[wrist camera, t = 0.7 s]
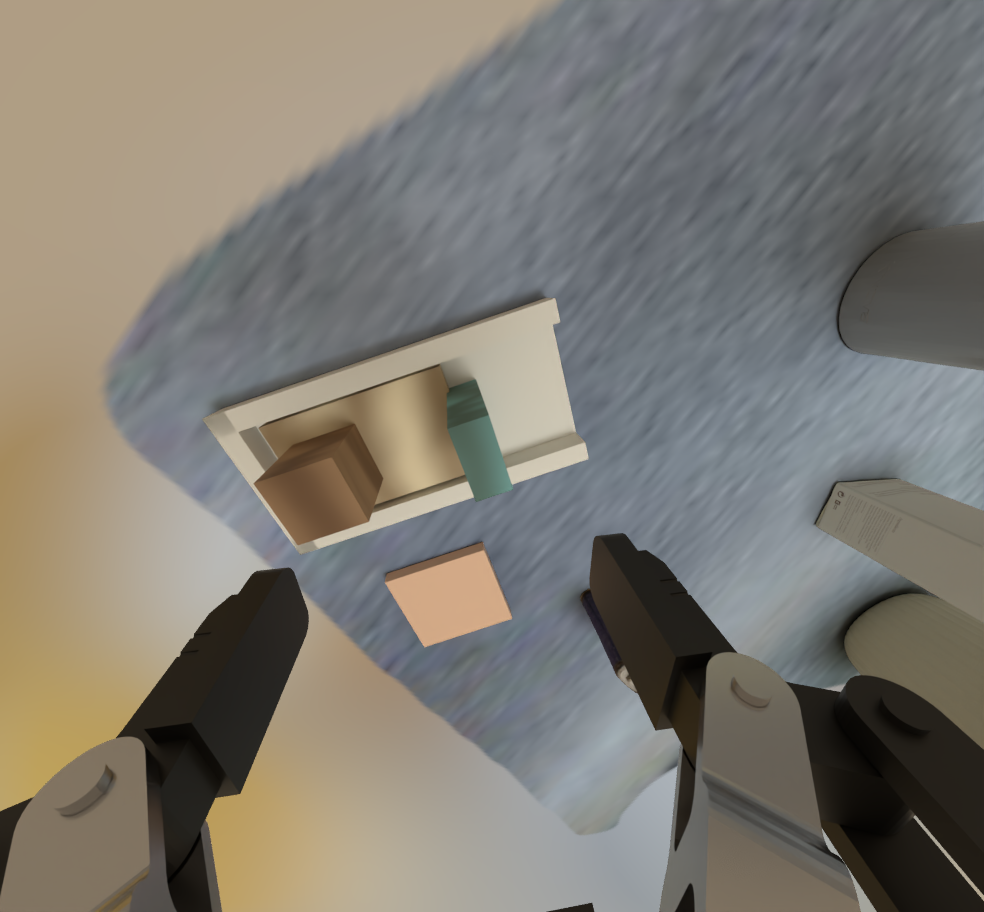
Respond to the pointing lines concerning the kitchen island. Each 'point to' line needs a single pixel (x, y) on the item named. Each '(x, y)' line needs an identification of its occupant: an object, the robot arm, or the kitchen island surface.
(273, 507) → the block
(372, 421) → the l-shaped stand
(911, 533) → the skincare box
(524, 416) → the cream tray
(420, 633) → the plate
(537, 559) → the kitchen island surface
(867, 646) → the canister
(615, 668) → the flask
